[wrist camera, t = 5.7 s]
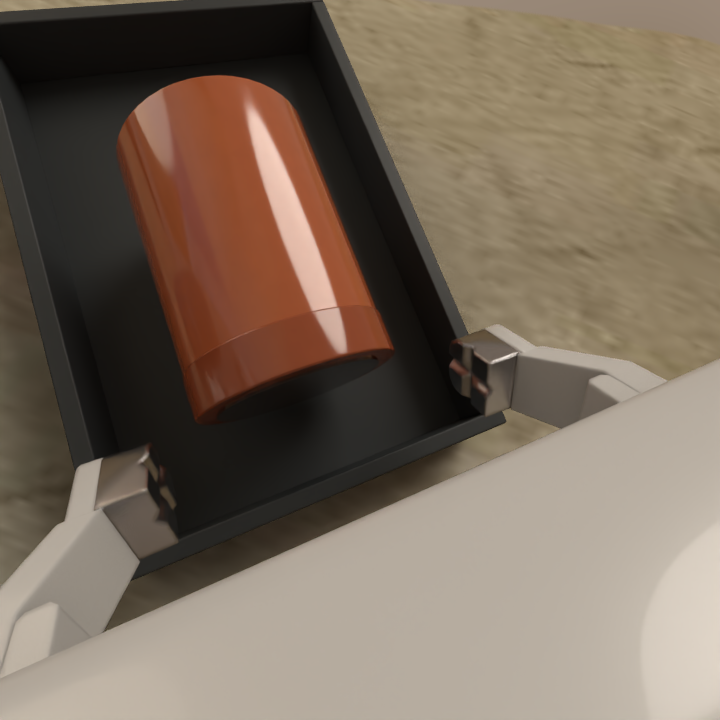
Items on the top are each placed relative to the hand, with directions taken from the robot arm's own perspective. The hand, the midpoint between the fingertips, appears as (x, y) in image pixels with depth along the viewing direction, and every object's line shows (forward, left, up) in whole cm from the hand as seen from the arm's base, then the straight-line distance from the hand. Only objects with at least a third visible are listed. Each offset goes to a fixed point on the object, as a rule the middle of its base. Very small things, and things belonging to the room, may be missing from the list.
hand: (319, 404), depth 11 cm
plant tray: (+2, +8, -7) cm, 10 cm away
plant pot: (+3, +10, -2) cm, 10 cm away
